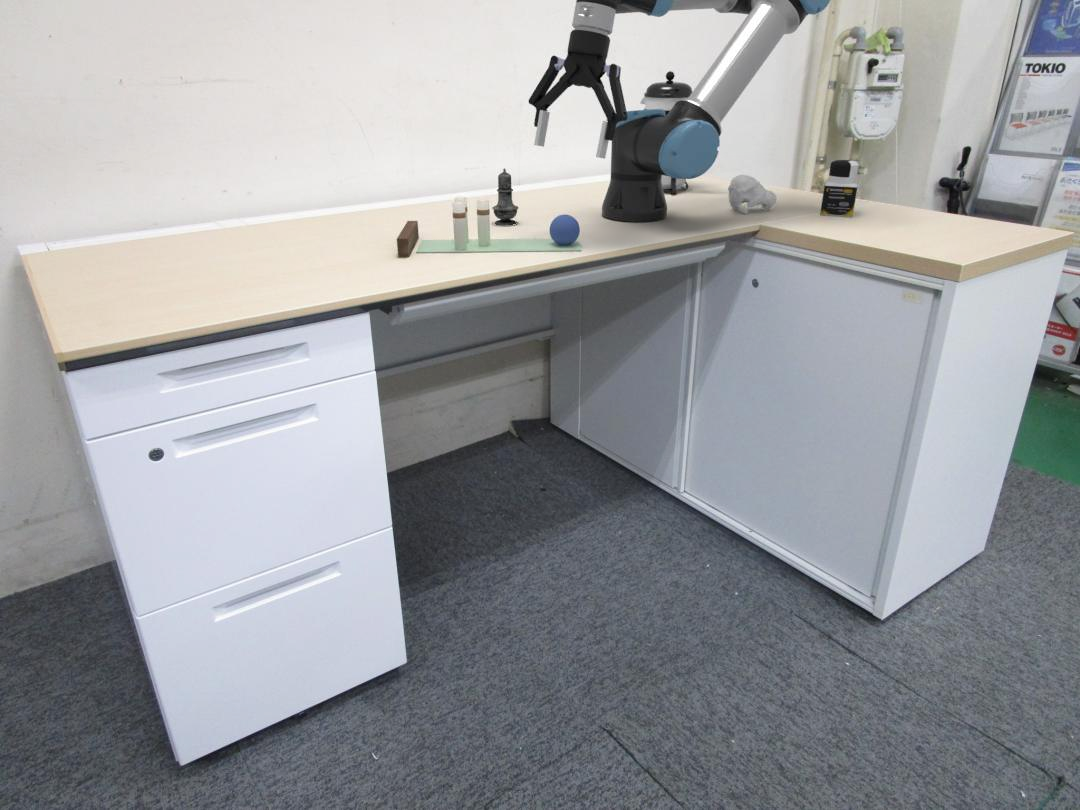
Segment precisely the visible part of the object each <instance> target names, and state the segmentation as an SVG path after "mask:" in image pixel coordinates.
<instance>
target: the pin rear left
mask: <svg viewBox="0 0 1080 810" xmlns="http://www.w3.org/2000/svg"><path fill="white" fill-rule="evenodd" d="M451 205H452V206H451V207H452V219H453V221H452V223H453V238H454V239H453V240H454V243H455V249H456V250H466V249H467V237H466V212H465V202H455V201H453V202H452V204H451Z"/></svg>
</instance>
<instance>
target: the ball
mask: <svg viewBox="0 0 1080 810" xmlns="http://www.w3.org/2000/svg"><path fill="white" fill-rule="evenodd" d="M580 229H581V227H580V223H579V222H578V220H577V219H576V218H575V217H574V216H571V215H569V214H561V215H557V216H556V217H554V219H553V220H552V221H551V223H550V225H549V235H550V239H551V238H552V239H553V241H554V242H556V243H557V244H559V245H570V244H572V243H574V242H575V241H576V240H577V238H578V239H579V236H580V233H581V232H580V231H581V230H580Z"/></svg>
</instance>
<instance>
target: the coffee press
mask: <svg viewBox="0 0 1080 810" xmlns="http://www.w3.org/2000/svg"><path fill="white" fill-rule="evenodd" d="M665 77H666V81H664V82H663V81H662V82H653V83H651V84H650V85H649V86H647V88H646V91H645V92H644V93H643V94H644V95H643V97H642V99H641V100H640V105H644V109H643V110H648V109H663V110H665V115H666V116H667V114H668V113H669V112H670V110H671V109H672V107H673V106H674V105H675V103H676V102H677V101H678V100H680V99H688V98H689V96H690V95H691V93H692V92H693V89H692V86H691V85H689V84H688V83H685V82H680V81H679V82H677V81H674V80H675V79H674V78H675V73H674V71H672V70H671V71H668V72H666V74H665ZM661 183H662V187H663V189H666V190H668V191H669V195H670V196H675V195H678V194H677V193H678V188H681V189H683V190H688V189H689V184H688V181H687V179H675V178H671V177H669V176H665V175H662V177H661ZM684 185H685V187H684Z"/></svg>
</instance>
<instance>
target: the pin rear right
mask: <svg viewBox="0 0 1080 810" xmlns="http://www.w3.org/2000/svg"><path fill="white" fill-rule="evenodd" d="M467 199H468V198H467V197H466V196H456V197H455V196H454V202H465V212H466V237H467V243H468V242H469V239H470V238H469V227H468V226H469V225H468V224H469V222H468V201H467Z"/></svg>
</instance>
